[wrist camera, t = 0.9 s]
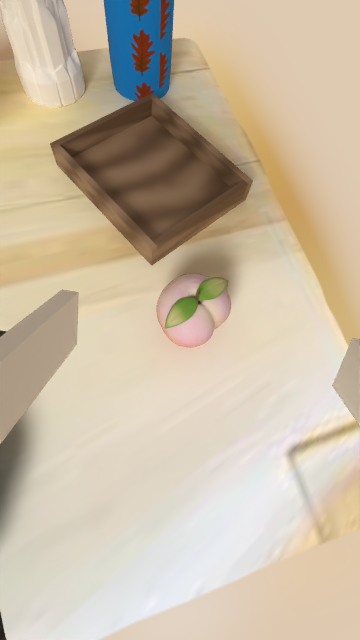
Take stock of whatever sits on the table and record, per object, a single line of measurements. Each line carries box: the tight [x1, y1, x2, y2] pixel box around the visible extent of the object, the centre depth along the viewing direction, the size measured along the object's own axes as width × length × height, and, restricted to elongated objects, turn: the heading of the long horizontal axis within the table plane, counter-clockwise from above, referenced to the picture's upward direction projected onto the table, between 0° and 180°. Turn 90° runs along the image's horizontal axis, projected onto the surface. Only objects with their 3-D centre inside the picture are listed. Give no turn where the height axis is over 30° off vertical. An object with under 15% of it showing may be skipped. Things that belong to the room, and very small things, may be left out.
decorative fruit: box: [157, 273, 231, 347], centre depth 38 cm, size 9×8×10 cm
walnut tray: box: [50, 93, 252, 265], centre depth 49 cm, size 24×20×4 cm
